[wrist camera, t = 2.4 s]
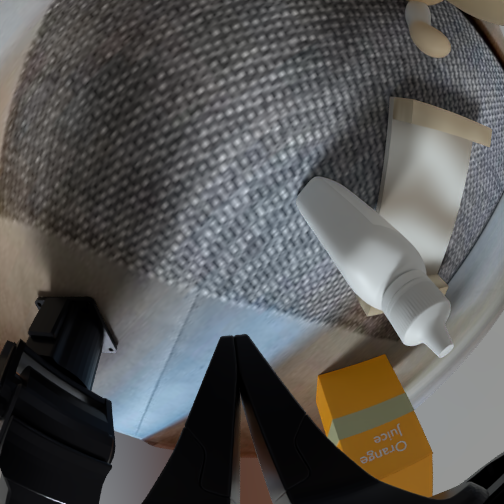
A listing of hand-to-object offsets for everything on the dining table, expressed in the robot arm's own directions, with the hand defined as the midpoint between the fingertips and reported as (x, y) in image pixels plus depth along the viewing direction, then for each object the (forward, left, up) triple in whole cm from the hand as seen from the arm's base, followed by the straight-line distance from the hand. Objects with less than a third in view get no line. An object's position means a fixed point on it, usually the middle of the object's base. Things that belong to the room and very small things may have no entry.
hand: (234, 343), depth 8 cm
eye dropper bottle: (0, -7, -10) cm, 12 cm away
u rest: (0, -15, -10) cm, 18 cm away
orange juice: (-23, -14, -10) cm, 29 cm away
